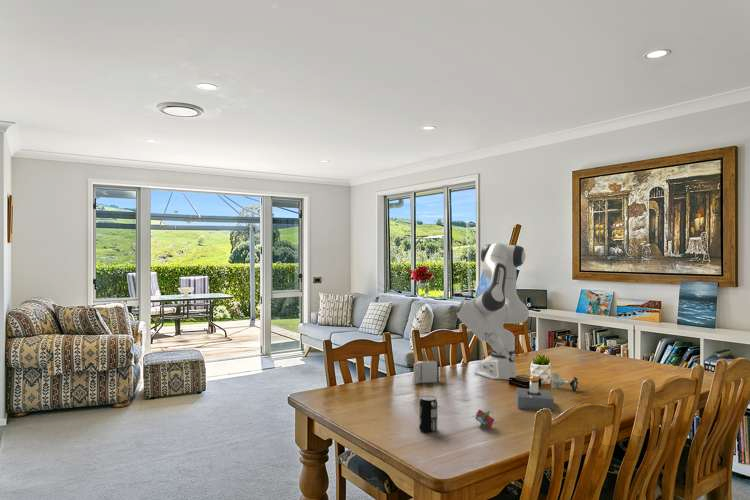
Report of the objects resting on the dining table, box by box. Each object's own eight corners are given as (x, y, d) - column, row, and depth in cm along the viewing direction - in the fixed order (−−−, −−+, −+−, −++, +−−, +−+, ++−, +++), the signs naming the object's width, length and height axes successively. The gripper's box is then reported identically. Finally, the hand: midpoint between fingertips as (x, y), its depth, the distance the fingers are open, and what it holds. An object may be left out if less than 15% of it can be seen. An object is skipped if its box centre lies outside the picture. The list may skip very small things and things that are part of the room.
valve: (548, 388, 244) (573, 392, 236) (548, 374, 244) (573, 378, 236) (553, 385, 249) (578, 389, 241) (553, 372, 249) (578, 376, 241)
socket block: (518, 408, 211) (518, 396, 211) (515, 399, 225) (516, 388, 225) (553, 411, 208) (553, 399, 208) (548, 401, 222) (549, 390, 222)
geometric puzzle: (502, 423, 187) (490, 403, 190) (493, 427, 182) (481, 407, 185) (488, 431, 191) (477, 411, 194) (478, 435, 185) (467, 415, 189)
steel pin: (527, 402, 216) (528, 376, 217) (532, 400, 219) (532, 375, 219) (535, 404, 214) (535, 378, 214) (539, 402, 216) (540, 377, 216)
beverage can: (417, 427, 188) (418, 395, 188) (435, 427, 188) (435, 394, 188) (420, 433, 181) (421, 400, 181) (438, 433, 182) (439, 400, 182)
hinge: (414, 384, 249) (414, 363, 249) (410, 381, 254) (410, 361, 254) (440, 382, 253) (440, 362, 253) (435, 379, 258) (435, 360, 258)
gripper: (491, 330, 210) (515, 355, 208) (490, 323, 230) (512, 346, 228) (480, 340, 211) (504, 365, 209) (480, 333, 231) (502, 355, 229)
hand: (508, 355), depth 219 cm, fingers open, 8 cm apart
